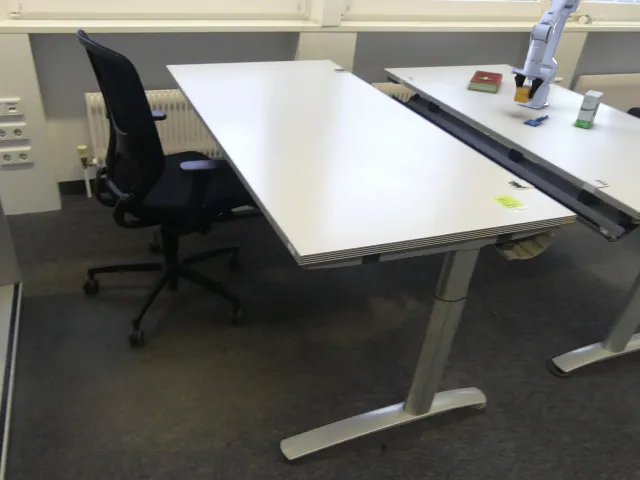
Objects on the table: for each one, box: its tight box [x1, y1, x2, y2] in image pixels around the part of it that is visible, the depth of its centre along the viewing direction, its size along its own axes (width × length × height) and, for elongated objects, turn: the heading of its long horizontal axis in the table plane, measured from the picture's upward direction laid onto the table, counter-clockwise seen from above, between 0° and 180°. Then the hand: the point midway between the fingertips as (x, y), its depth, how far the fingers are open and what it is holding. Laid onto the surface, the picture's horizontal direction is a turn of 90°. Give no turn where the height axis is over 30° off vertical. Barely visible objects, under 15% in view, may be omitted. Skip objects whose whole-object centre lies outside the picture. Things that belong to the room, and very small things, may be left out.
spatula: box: [523, 114, 549, 127], centre depth 209 cm, size 15×4×1 cm, turn 133°
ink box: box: [574, 90, 604, 129], centre depth 205 cm, size 9×5×12 cm, turn 142°
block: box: [513, 84, 535, 104], centre depth 209 cm, size 7×4×5 cm, turn 133°
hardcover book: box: [467, 70, 504, 94], centre depth 249 cm, size 12×21×4 cm, turn 156°
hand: (524, 96), depth 210 cm, fingers closed on block, 4 cm apart
